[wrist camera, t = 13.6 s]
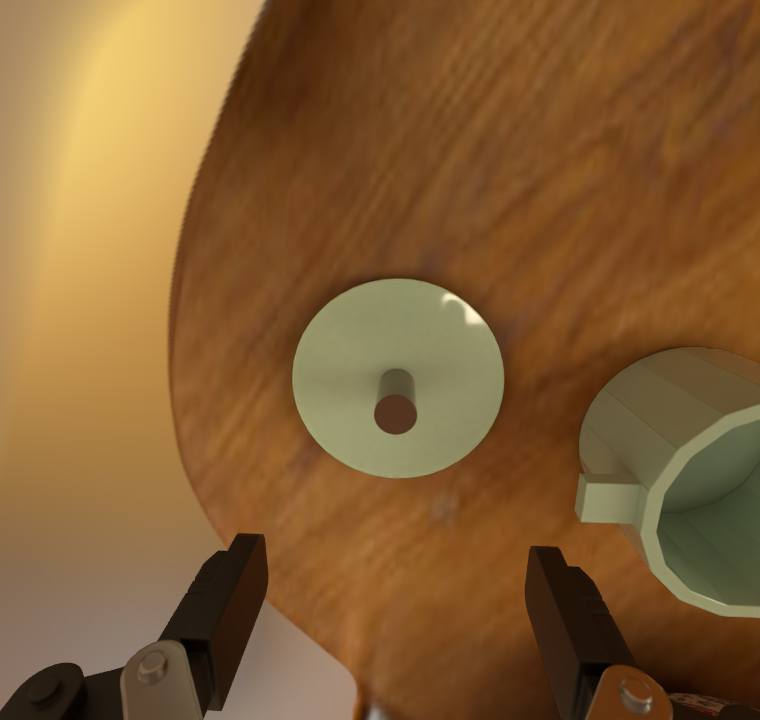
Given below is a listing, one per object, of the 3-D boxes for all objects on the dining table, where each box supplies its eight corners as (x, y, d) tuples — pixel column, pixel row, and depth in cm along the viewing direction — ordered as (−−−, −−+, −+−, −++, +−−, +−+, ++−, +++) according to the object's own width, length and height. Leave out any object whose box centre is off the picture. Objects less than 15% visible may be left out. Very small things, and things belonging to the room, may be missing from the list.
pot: (549, 345, 28) (608, 393, 20) (845, 347, 27) (1033, 399, 19) (530, 513, 32) (573, 611, 24) (790, 520, 31) (926, 625, 23)
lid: (289, 276, 28) (260, 289, 22) (508, 276, 27) (535, 289, 21) (302, 467, 32) (280, 518, 26) (493, 471, 31) (512, 524, 26)
